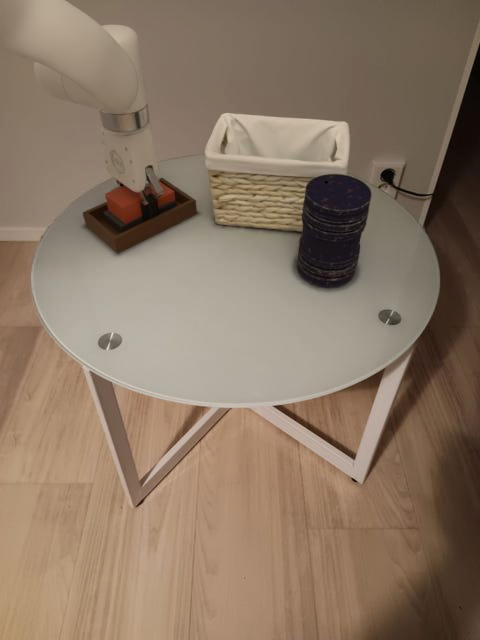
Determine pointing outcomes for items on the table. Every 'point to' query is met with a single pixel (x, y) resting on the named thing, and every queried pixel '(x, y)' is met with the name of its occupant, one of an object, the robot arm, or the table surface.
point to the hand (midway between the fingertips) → (140, 210)
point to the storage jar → (332, 229)
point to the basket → (270, 166)
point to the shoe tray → (145, 229)
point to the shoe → (133, 206)
